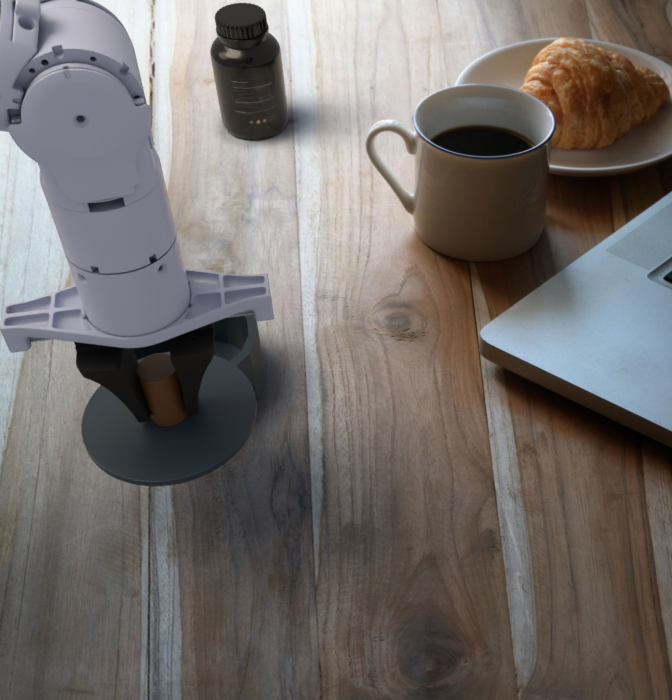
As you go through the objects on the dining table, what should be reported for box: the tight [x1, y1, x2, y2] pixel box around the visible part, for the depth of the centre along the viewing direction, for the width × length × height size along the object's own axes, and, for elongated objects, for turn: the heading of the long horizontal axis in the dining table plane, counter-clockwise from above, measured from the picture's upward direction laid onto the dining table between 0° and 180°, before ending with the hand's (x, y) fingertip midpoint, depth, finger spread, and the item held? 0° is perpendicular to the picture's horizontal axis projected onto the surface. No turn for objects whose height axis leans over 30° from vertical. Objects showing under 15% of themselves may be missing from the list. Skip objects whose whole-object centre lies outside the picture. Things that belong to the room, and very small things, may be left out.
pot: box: [134, 314, 266, 403], centre depth 70 cm, size 10×10×5 cm
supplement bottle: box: [209, 2, 289, 140], centre depth 92 cm, size 7×7×12 cm
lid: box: [80, 352, 258, 487], centre depth 58 cm, size 11×11×5 cm
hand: (169, 406), depth 59 cm, fingers closed on lid, 2 cm apart
